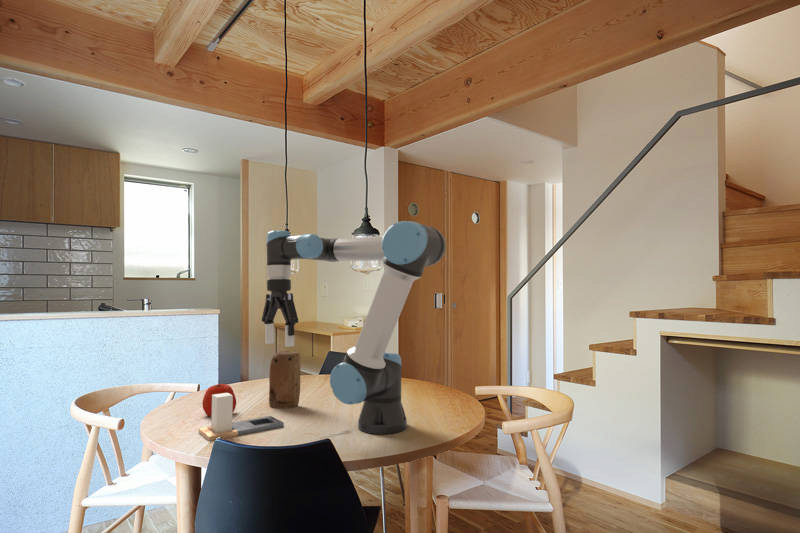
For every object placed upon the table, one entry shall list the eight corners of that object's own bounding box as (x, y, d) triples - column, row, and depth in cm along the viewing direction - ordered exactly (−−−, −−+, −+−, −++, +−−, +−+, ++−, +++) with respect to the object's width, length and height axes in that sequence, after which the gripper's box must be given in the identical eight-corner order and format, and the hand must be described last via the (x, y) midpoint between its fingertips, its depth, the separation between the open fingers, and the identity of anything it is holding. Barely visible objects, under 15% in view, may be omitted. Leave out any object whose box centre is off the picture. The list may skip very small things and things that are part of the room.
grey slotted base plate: (283, 429, 143) (283, 422, 143) (208, 444, 129) (209, 436, 129) (270, 422, 150) (270, 415, 151) (198, 435, 137) (198, 428, 137)
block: (301, 405, 173) (302, 350, 174) (296, 410, 165) (296, 353, 166) (272, 404, 173) (273, 350, 174) (265, 409, 166) (266, 353, 167)
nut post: (232, 433, 136) (232, 395, 136) (216, 436, 133) (216, 397, 133) (226, 430, 139) (227, 392, 140) (211, 432, 136) (212, 394, 137)
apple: (202, 412, 162) (203, 381, 163) (235, 409, 166) (236, 379, 166) (201, 420, 152) (202, 387, 153) (236, 417, 156) (237, 385, 156)
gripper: (309, 277, 144) (309, 346, 143) (271, 280, 163) (272, 341, 162) (287, 276, 139) (287, 348, 138) (251, 280, 158) (251, 343, 157)
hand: (279, 345), depth 150 cm, fingers open, 13 cm apart
